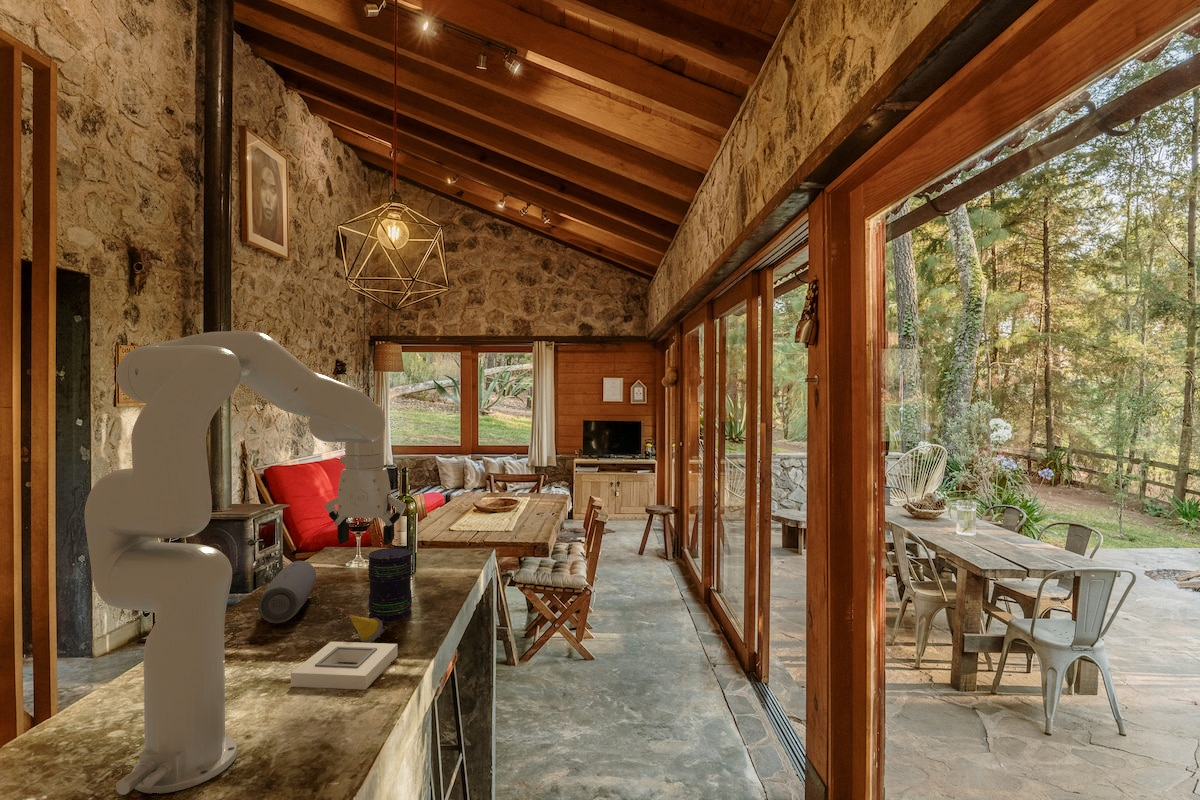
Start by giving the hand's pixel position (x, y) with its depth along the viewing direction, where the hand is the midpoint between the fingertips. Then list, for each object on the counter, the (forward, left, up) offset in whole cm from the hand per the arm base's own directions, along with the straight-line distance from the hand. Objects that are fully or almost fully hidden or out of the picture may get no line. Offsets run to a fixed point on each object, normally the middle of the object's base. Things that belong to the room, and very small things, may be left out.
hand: (366, 543), depth 131 cm
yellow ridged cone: (0, 0, -22) cm, 22 cm away
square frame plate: (-13, -2, -21) cm, 25 cm away
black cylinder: (+16, +2, -22) cm, 27 cm away
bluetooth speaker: (+17, +27, -22) cm, 39 cm away
